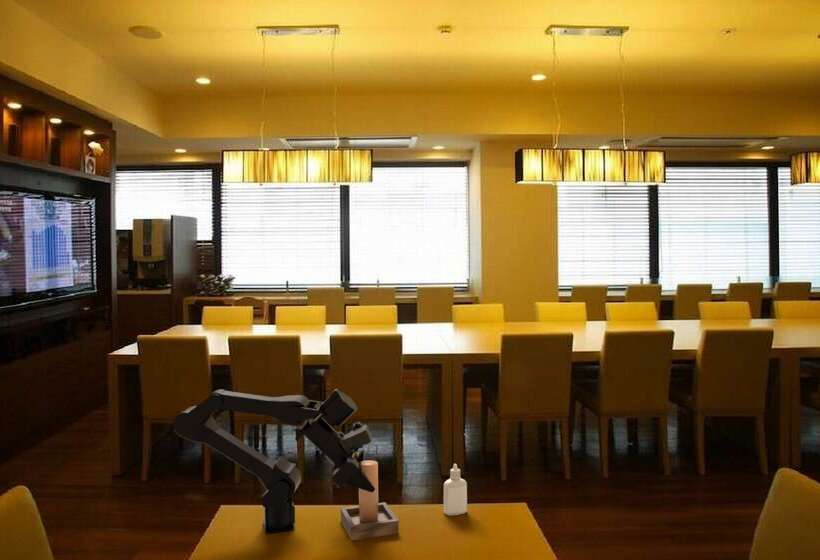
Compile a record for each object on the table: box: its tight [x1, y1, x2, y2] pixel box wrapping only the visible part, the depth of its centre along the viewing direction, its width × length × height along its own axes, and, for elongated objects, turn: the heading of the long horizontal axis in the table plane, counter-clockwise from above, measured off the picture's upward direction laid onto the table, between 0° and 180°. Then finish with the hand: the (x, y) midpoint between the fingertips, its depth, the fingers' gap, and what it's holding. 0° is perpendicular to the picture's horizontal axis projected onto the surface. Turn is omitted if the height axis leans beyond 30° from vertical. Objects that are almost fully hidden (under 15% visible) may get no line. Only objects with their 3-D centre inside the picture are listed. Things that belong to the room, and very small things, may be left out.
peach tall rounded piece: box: [358, 460, 379, 523], centre depth 147 cm, size 4×4×13 cm
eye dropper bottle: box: [443, 463, 468, 517], centre depth 155 cm, size 4×6×12 cm
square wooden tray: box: [340, 501, 400, 541], centre depth 147 cm, size 11×11×3 cm
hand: (374, 486), depth 147 cm, fingers open, 5 cm apart
